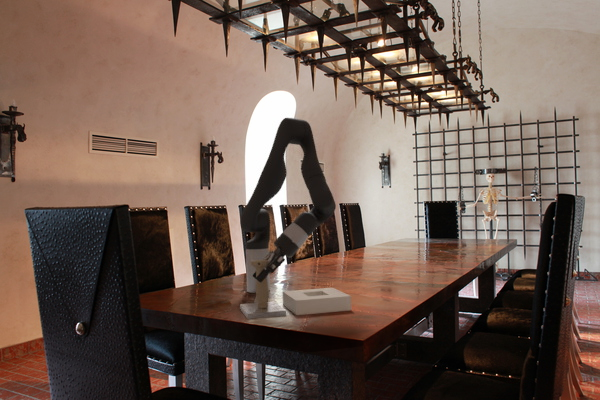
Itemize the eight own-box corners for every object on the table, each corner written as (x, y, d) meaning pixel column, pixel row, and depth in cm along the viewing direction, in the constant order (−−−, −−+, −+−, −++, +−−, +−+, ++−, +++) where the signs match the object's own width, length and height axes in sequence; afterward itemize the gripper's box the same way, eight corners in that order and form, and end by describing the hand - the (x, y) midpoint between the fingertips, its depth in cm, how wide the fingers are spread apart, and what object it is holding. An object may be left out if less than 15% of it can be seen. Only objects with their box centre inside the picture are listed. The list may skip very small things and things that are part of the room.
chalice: (273, 299, 174) (272, 250, 175) (267, 303, 168) (266, 251, 168) (254, 299, 176) (253, 250, 177) (248, 303, 170) (246, 252, 170)
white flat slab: (240, 308, 160) (239, 304, 160) (275, 305, 163) (275, 301, 163) (247, 318, 145) (247, 313, 145) (286, 315, 148) (286, 310, 148)
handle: (270, 309, 150) (268, 261, 151) (251, 309, 152) (249, 261, 152) (274, 306, 155) (272, 259, 155) (255, 306, 156) (253, 260, 157)
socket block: (283, 304, 165) (282, 291, 165) (332, 300, 170) (332, 287, 170) (296, 315, 148) (295, 300, 148) (351, 310, 152) (350, 296, 152)
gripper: (278, 231, 162) (244, 269, 159) (288, 233, 149) (251, 274, 145) (293, 246, 164) (260, 283, 160) (305, 249, 150) (269, 290, 147)
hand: (256, 279), depth 153 cm, fingers open, 6 cm apart
